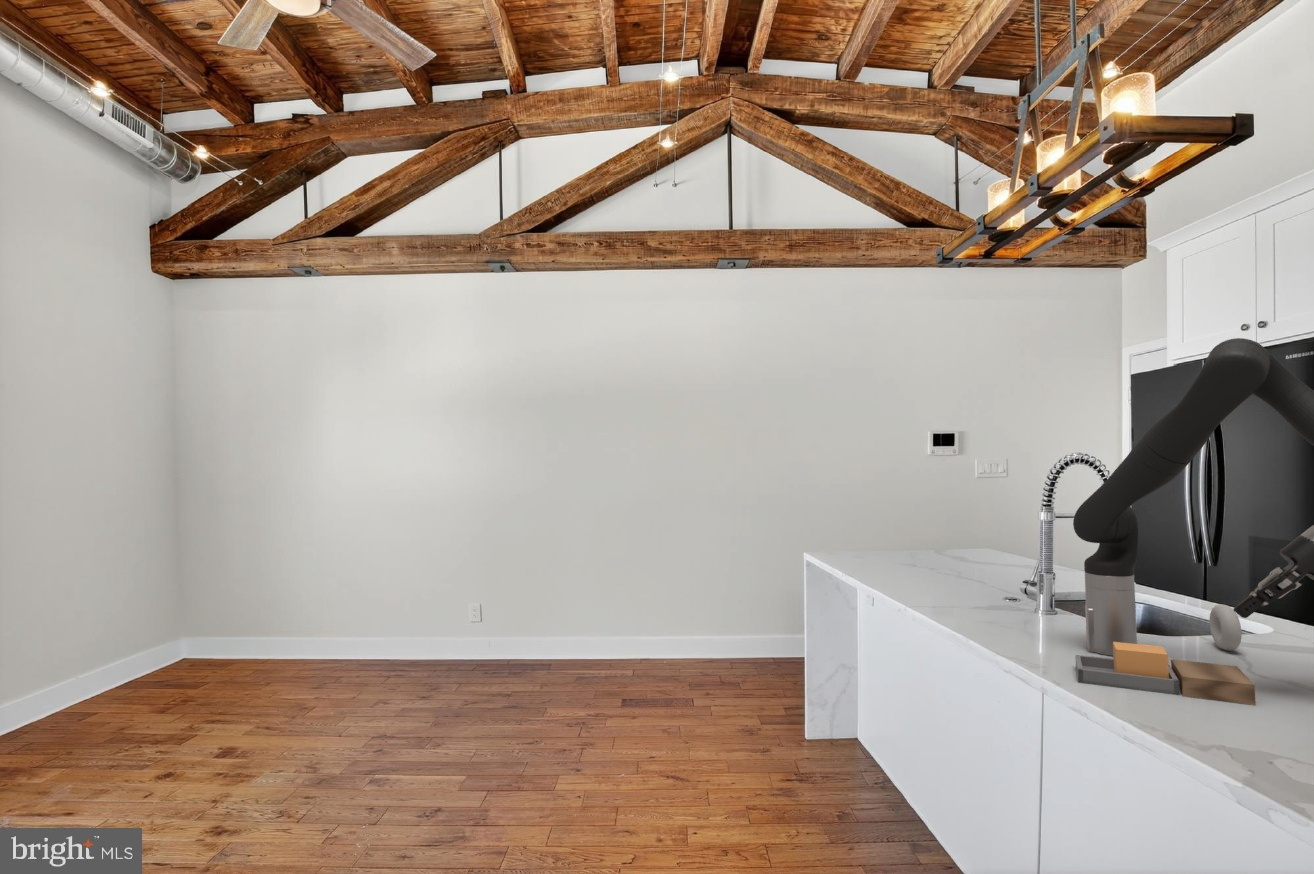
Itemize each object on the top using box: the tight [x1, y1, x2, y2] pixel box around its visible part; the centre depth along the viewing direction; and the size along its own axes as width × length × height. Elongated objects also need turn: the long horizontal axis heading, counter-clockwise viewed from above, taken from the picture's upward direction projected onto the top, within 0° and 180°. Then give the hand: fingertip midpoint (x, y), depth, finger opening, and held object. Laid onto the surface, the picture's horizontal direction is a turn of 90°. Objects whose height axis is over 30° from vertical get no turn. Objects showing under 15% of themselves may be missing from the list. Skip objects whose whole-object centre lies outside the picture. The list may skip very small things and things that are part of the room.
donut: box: [1209, 603, 1242, 652], centre depth 150 cm, size 10×4×10 cm, turn 158°
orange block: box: [1113, 642, 1169, 679], centre depth 129 cm, size 6×6×8 cm
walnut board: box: [1170, 658, 1256, 706], centre depth 125 cm, size 10×12×4 cm
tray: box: [1074, 654, 1181, 696], centre depth 131 cm, size 16×11×2 cm
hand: (1238, 613), depth 124 cm, fingers closed
